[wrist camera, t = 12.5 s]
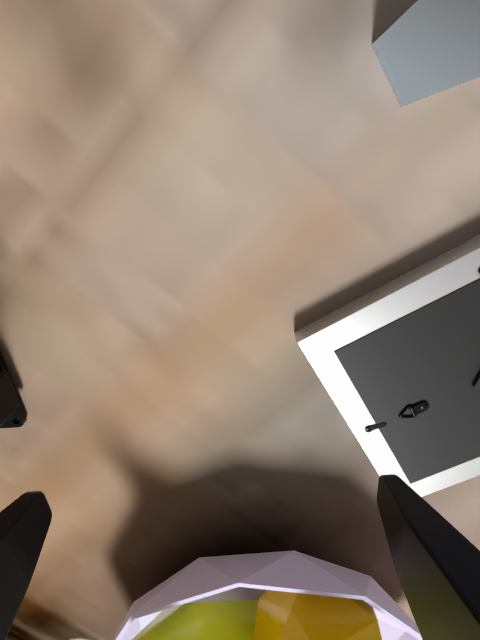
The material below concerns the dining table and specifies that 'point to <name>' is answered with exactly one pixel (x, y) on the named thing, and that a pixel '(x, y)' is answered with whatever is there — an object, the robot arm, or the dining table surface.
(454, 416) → the picture frame
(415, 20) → the light blue tall bar
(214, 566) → the fruit bowl
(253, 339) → the dining table surface
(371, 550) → the dining table surface
